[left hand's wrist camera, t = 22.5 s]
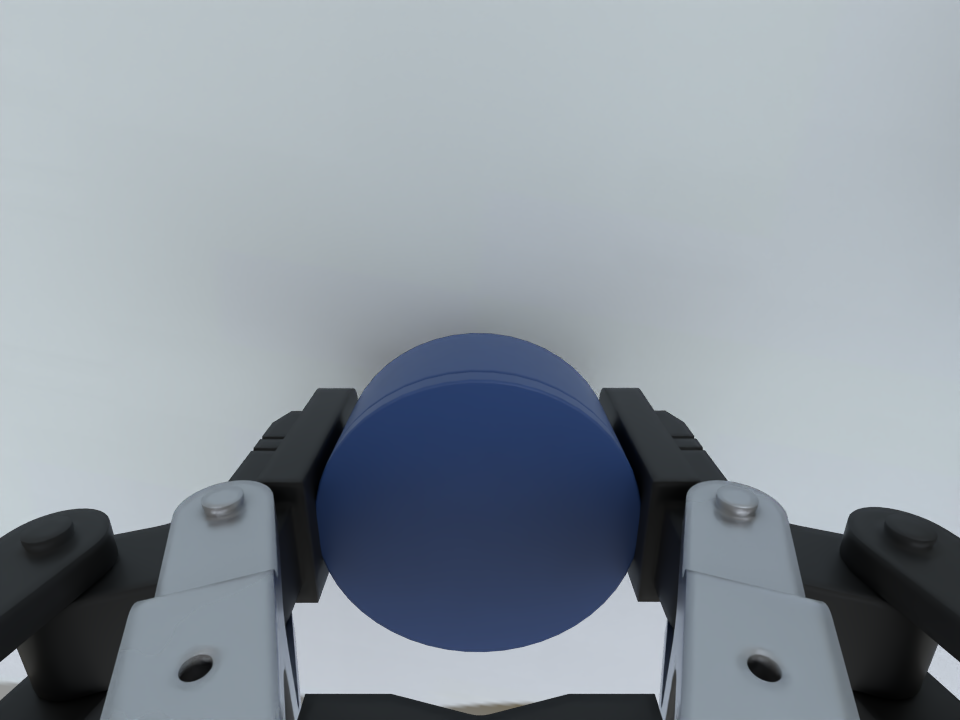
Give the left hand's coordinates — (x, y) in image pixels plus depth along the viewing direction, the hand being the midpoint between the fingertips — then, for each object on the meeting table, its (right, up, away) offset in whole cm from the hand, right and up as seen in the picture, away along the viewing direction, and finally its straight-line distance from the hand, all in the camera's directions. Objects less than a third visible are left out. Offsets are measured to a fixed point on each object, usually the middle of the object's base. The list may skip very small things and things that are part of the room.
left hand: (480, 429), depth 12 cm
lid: (0, -1, -3) cm, 3 cm away
